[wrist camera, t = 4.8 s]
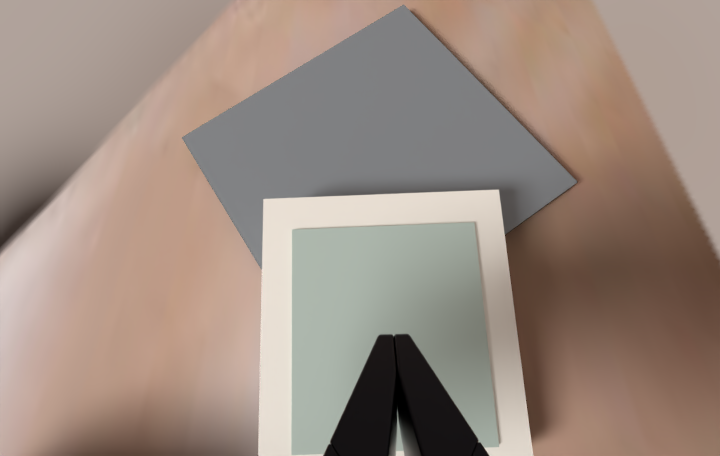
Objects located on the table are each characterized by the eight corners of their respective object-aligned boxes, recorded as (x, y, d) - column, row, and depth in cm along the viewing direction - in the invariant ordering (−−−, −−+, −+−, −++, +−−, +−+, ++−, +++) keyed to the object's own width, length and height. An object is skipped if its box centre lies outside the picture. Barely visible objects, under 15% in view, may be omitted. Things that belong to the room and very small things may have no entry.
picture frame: (482, 203, 20) (512, 453, 18) (275, 211, 20) (272, 462, 18) (500, 188, 18) (538, 479, 15) (262, 197, 18) (255, 490, 15)
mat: (570, 187, 21) (577, 182, 21) (322, 365, 19) (320, 367, 19) (403, 14, 26) (403, 4, 25) (188, 143, 24) (181, 137, 23)
